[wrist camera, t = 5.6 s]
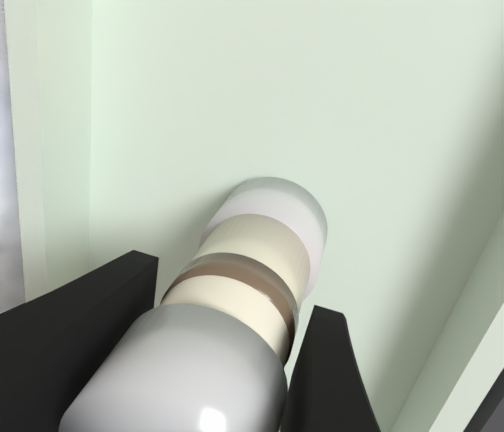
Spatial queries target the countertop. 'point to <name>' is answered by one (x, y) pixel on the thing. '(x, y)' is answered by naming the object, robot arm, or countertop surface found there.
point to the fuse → (217, 325)
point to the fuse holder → (490, 410)
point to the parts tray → (283, 162)
